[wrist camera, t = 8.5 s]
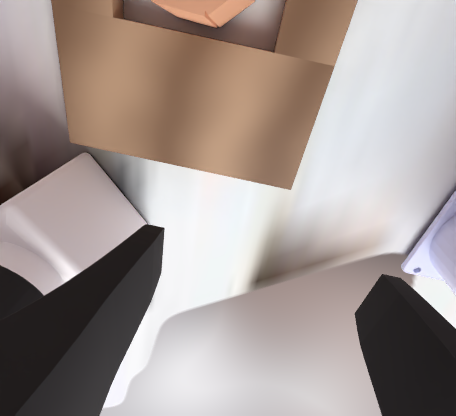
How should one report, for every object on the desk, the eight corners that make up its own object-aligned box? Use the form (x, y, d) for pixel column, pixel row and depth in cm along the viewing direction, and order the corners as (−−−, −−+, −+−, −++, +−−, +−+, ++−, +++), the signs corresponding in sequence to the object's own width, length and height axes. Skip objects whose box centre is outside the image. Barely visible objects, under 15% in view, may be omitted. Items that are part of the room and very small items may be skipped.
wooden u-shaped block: (373, -66, 12) (384, -76, 11) (289, 181, 18) (290, 189, 17) (50, -139, 12) (30, -156, 10) (80, 136, 18) (70, 142, 17)
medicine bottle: (23, 190, 21) (-204, 335, 11) (88, 149, 18) (-125, 285, 8) (89, 255, 24) (-40, 418, 14) (152, 227, 21) (54, 398, 11)
